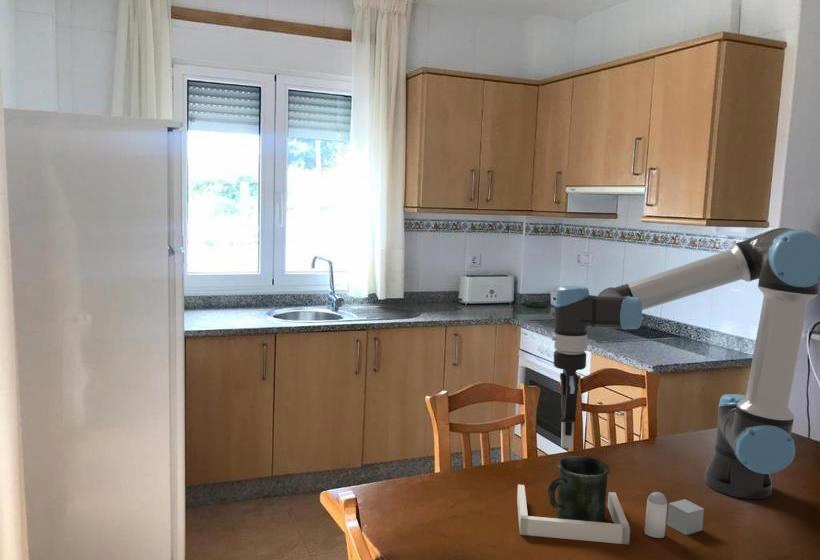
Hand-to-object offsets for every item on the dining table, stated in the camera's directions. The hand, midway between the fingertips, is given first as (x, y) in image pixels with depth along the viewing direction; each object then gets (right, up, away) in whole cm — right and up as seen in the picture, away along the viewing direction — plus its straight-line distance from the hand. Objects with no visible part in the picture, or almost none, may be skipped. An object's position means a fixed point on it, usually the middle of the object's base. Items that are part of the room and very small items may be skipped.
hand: (567, 446), depth 164 cm
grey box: (+21, -13, -17) cm, 31 cm away
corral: (-3, -12, -16) cm, 20 cm away
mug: (-2, -12, -15) cm, 20 cm away
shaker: (+14, -13, -21) cm, 28 cm away
